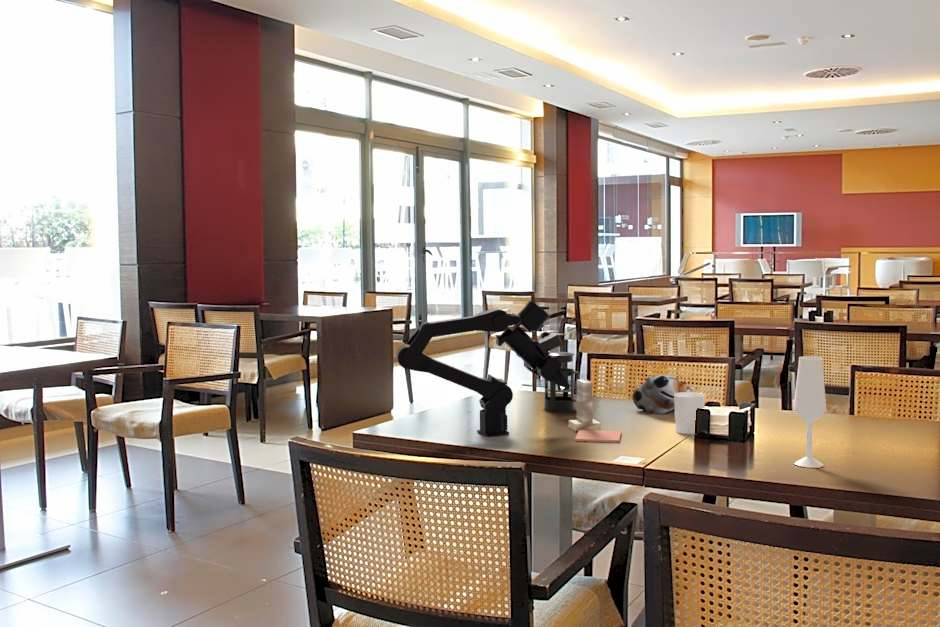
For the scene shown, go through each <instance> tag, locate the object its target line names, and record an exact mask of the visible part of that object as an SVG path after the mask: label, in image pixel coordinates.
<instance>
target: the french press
mask: <svg viewBox="0 0 940 627" xmlns="http://www.w3.org/2000/svg"><path fill="white" fill-rule="evenodd" d="M558 334H559V337H560V339H561V337H562V336H563V337H564V336H566V335H567V334H566V333H560V332H559V333H558ZM561 340H562V339H561ZM560 348H561V346H560V347H559V346H558V351H549V353H550V354H549V355H548V356H556V357H558V358H559V359H560V360H561V361H562V364H564V363H565V364H566V363H571V362H573V361H574V359H573V358H574V357H573V356H574V355H575V353H573V352H567V351H560V350H561V349H560ZM561 372H562V374H563V375H564V377H565V378H566V380H567V382H568V383H569V377H570V387H569V388H568V389H566V388H564V387H562V386H559V385H557V384H554V383H552V382H550V381H547V380H545V379H544V407H543V410H544V411H545V412H548V413H549V412H550V413H569V412H570V411H571V412H573V411H575V410H576V407H575V403H577V399H575V374H576V381H577V380H579V379H581V376H580V375H581V372H580V371H575V369H573V368H568V367H567V368H566V367H561ZM556 393H557V394H559V393H561V394H562V395H557V394H556ZM569 393H570V396H569ZM549 394H550V396H549Z"/></svg>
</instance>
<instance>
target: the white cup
mask: <svg viewBox="0 0 940 627" xmlns="http://www.w3.org/2000/svg"><path fill="white" fill-rule="evenodd" d="M705 401H706V395H705V393H702V392H694V391H691V392H679V393H675V394H674V408H675V409H674V420H675V432H676V433H677V434H681V435H688V436H689V435H695V434H694V433H695V420H696V410H697V408H704V409H705V403H706V402H705Z"/></svg>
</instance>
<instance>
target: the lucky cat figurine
mask: <svg viewBox="0 0 940 627" xmlns="http://www.w3.org/2000/svg"><path fill="white" fill-rule="evenodd" d="M687 384H688V383H687V382H685V381H680V380H679V379H678V378H677V377H675V376H672V375H669V374H660V375H659V374H658V375H655V376H652V375H649V376H648V377H647V378H646V380H645V381H644V382H643V384H642V385H640V386H638V387H635V389H634V390H633V393H632V398H631V399H632V402H633V403H634V405H635V406H636V408H637V409H638V410H642V411H643V413H645V414H649V415H664V414H666V413H668V412H671V411H673V410H675V408H674V394H675V393H679V392H693V390H692V388H691V387H690V386H688V385H687Z"/></svg>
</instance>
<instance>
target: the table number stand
mask: <svg viewBox="0 0 940 627" xmlns="http://www.w3.org/2000/svg"><path fill="white" fill-rule="evenodd" d="M593 388H594V387H593V382H592V381H590V380H589V379H586V378H584V379H583V378H582V379H581V378H580V379H579V380H577V379H576V400H577V402H576V419H568V428H569V429H570V428H571V429H570V430H572V431H573V430H574V431H573V432H575V433H577V432H576V431H579V430H599V431H602V430H601V428H602V427H601V422H599V421H598V420H596V419H594V417H593V415H594V413H593V409H594V408H593V405H594V404H593V399H594V398H593V397H594V396H593V394H594V393H593Z"/></svg>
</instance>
